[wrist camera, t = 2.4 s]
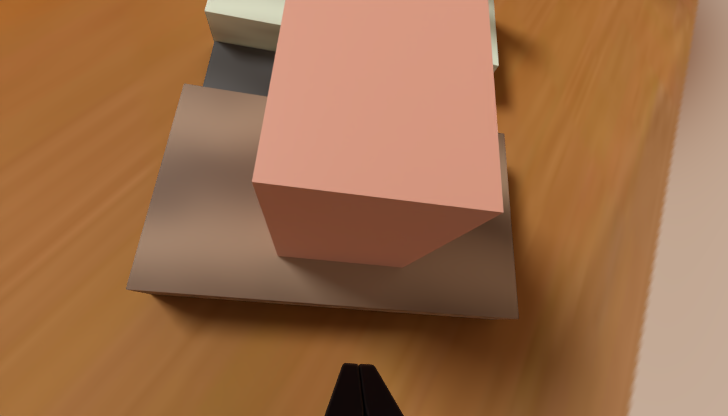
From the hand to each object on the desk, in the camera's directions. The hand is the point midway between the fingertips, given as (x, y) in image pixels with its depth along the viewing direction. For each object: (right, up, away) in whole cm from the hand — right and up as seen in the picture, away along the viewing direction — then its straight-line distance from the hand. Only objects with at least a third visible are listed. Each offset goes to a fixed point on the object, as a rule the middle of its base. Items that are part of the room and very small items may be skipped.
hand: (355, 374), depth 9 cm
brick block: (-1, +5, +8) cm, 10 cm away
